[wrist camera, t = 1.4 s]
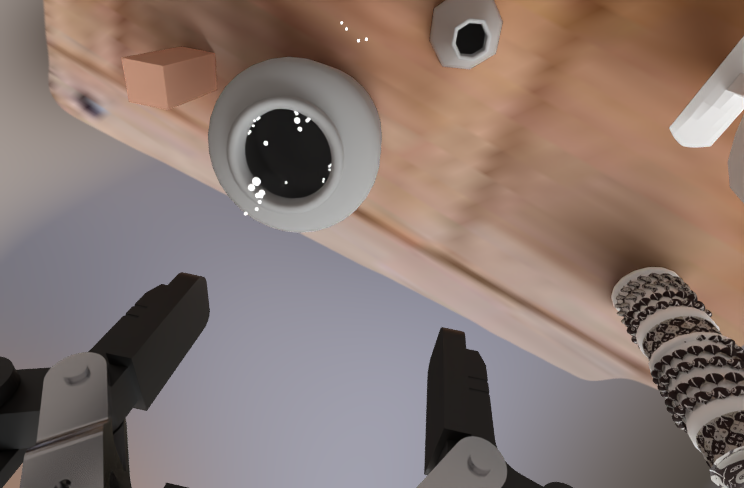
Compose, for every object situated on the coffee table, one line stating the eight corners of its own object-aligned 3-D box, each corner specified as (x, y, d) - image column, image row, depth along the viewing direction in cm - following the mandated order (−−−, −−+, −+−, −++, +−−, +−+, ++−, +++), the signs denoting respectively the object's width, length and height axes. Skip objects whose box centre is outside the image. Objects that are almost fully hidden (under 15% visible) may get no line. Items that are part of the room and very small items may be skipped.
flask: (423, 0, 39) (418, 1, 31) (499, -21, 37) (516, -27, 29) (435, 76, 43) (433, 96, 34) (505, 60, 41) (521, 77, 33)
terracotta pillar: (184, 83, 47) (129, 101, 39) (181, 46, 45) (121, 57, 37) (216, 89, 47) (168, 110, 39) (215, 53, 45) (162, 66, 36)
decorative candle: (690, 258, 49) (874, 453, 28) (683, 315, 54) (837, 519, 33) (608, 269, 52) (722, 455, 31) (607, 322, 56) (706, 516, 35)
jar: (315, -9, 40) (177, -14, 19) (432, 78, 43) (423, 157, 22) (246, 141, 50) (104, 246, 29) (345, 205, 53) (281, 343, 32)
